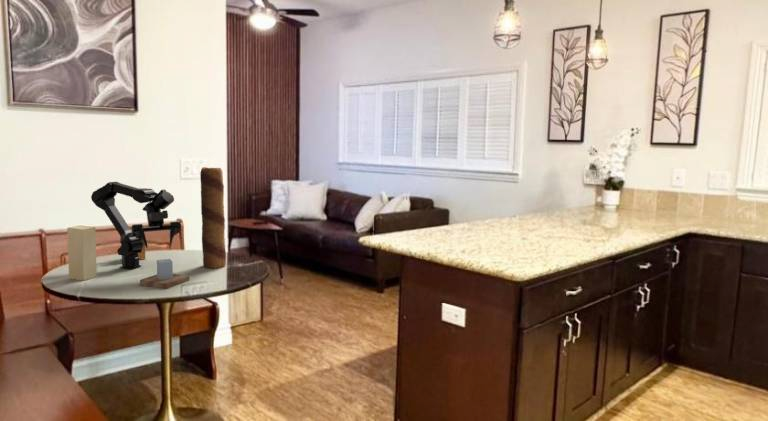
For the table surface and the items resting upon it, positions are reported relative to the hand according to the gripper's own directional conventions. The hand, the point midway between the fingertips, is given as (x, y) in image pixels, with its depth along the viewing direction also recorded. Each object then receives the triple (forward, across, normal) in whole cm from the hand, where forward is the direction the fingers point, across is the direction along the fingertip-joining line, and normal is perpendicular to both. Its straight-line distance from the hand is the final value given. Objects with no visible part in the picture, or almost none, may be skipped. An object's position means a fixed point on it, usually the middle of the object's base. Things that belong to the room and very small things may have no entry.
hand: (159, 246), depth 221 cm
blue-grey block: (+14, 0, +1) cm, 14 cm away
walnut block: (+16, 0, +3) cm, 16 cm away
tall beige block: (+2, -28, +18) cm, 33 cm away
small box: (-17, -6, +39) cm, 43 cm away
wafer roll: (+3, +24, +18) cm, 30 cm away
